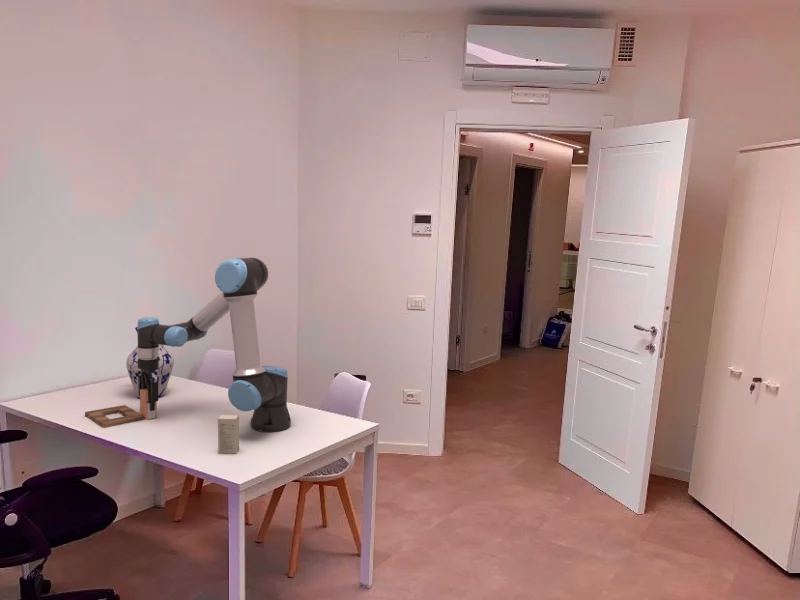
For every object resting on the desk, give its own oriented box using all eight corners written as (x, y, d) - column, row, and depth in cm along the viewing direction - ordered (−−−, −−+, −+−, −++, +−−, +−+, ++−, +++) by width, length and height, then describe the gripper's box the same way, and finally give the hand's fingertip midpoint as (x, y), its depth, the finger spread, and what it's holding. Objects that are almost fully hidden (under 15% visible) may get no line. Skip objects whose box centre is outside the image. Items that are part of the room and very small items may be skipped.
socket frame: (144, 419, 230) (144, 416, 230) (103, 428, 220) (103, 424, 219) (124, 408, 243) (124, 404, 242) (85, 415, 232) (84, 411, 232)
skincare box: (239, 449, 206) (240, 414, 204) (236, 454, 201) (237, 418, 200) (220, 448, 205) (220, 414, 204) (217, 453, 201) (217, 418, 200)
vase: (174, 400, 256) (174, 331, 252) (125, 403, 249) (124, 332, 245) (173, 388, 274) (173, 323, 270) (127, 391, 267) (127, 324, 263)
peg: (156, 417, 234) (156, 390, 232) (145, 419, 230) (145, 392, 229) (151, 414, 237) (151, 387, 235) (140, 417, 233) (140, 389, 232)
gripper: (168, 360, 228) (168, 420, 230) (147, 352, 239) (147, 409, 242) (148, 363, 222) (148, 424, 225) (128, 354, 234) (128, 412, 237)
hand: (148, 416), depth 234 cm, fingers closed on peg, 4 cm apart
